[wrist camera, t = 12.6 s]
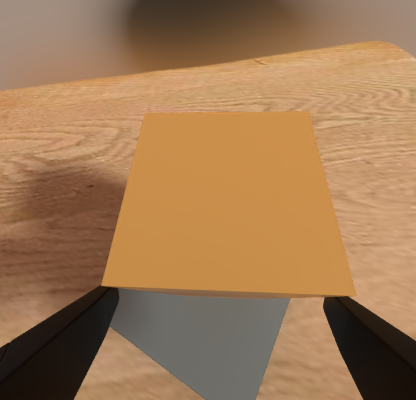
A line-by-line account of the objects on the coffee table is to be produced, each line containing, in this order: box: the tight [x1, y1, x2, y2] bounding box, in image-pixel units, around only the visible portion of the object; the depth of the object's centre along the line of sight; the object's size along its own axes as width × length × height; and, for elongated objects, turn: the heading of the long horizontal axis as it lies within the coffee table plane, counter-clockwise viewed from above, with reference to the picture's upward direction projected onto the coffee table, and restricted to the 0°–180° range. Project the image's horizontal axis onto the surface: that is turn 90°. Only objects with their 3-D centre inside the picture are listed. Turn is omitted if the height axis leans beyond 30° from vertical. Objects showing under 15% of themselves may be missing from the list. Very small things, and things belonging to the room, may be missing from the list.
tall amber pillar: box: [101, 111, 357, 299], centre depth 11 cm, size 6×6×12 cm
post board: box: [110, 288, 290, 400], centre depth 15 cm, size 16×12×4 cm
